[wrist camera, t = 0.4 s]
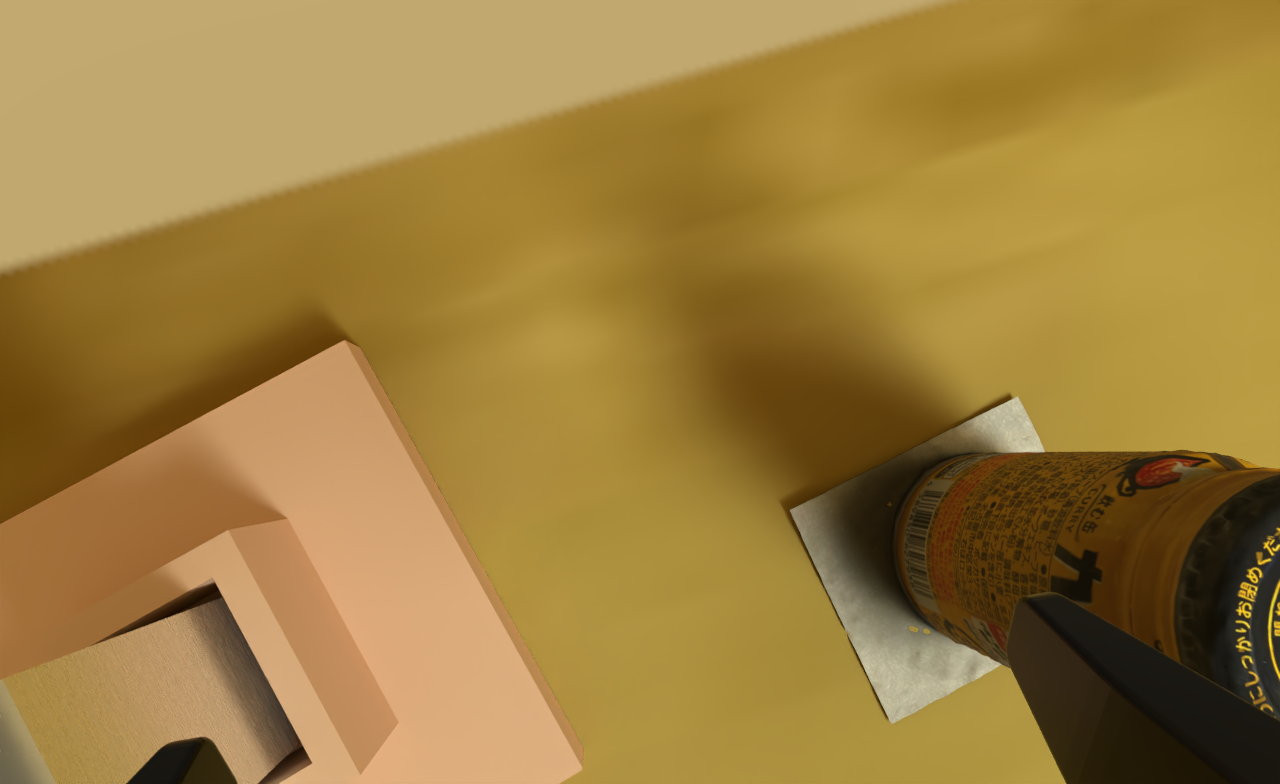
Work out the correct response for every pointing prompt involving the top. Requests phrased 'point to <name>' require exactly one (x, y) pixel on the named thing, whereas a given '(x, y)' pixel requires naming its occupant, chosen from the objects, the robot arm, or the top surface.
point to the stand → (301, 583)
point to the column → (143, 704)
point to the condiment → (1049, 556)
